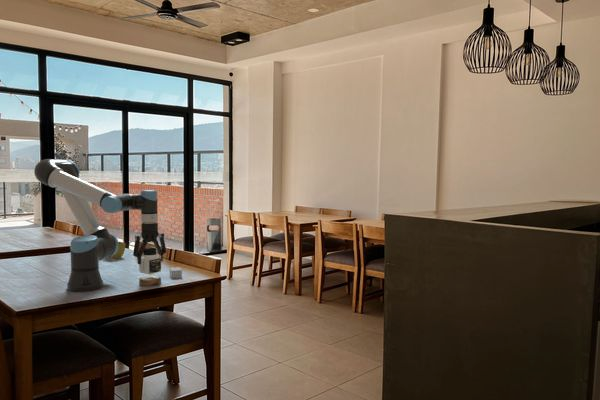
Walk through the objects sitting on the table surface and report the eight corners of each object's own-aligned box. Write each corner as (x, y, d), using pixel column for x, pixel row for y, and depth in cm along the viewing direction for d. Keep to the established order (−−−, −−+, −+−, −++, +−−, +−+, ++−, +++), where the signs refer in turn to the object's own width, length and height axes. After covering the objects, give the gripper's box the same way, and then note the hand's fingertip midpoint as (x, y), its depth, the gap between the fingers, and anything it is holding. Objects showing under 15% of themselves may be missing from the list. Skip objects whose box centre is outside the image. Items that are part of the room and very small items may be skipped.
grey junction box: (181, 277, 242) (181, 270, 242) (171, 278, 240) (171, 270, 240) (179, 274, 249) (179, 267, 248) (169, 275, 247) (169, 267, 246)
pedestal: (152, 287, 223) (152, 281, 223) (134, 285, 226) (134, 279, 226) (165, 282, 233) (165, 276, 232) (147, 280, 236) (147, 274, 236)
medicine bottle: (149, 274, 224) (149, 249, 223) (139, 272, 228) (138, 247, 227) (161, 271, 230) (161, 247, 229) (151, 269, 234) (150, 245, 233)
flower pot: (126, 257, 290) (125, 242, 290) (113, 259, 283) (113, 244, 282) (116, 255, 295) (116, 241, 294) (104, 258, 288) (104, 243, 287)
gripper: (130, 225, 217) (131, 274, 219) (173, 221, 231) (174, 267, 233) (124, 223, 223) (125, 271, 225) (166, 220, 237) (167, 265, 239)
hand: (150, 269), depth 229 cm, fingers closed on medicine bottle, 8 cm apart
